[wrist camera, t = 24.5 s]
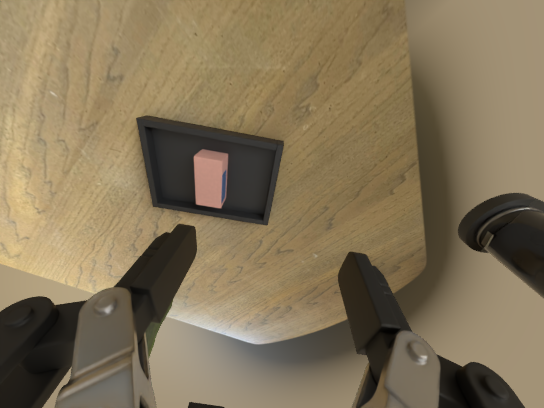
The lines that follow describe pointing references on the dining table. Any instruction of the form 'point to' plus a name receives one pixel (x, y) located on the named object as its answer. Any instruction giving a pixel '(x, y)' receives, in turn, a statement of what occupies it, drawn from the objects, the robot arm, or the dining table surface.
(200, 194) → the eraser
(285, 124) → the dining table surface
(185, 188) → the tray
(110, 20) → the dining table surface
